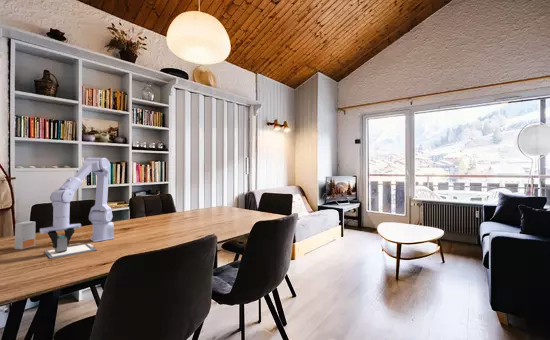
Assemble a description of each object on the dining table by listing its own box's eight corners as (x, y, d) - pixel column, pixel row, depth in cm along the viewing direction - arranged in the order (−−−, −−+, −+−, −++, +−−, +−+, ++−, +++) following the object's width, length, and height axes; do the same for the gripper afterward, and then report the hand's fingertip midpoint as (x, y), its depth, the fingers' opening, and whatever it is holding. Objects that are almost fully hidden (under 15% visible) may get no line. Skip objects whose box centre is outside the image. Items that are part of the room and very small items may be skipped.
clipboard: (88, 244, 135) (88, 242, 135) (96, 250, 125) (96, 248, 125) (44, 251, 122) (44, 249, 122) (50, 259, 113) (50, 256, 113)
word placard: (80, 242, 137) (80, 242, 137) (82, 244, 134) (82, 243, 134) (65, 245, 132) (65, 244, 132) (67, 246, 130) (67, 246, 130)
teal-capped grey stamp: (64, 249, 123) (64, 234, 123) (67, 251, 121) (67, 235, 121) (54, 251, 120) (54, 235, 120) (57, 252, 118) (57, 237, 118)
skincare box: (21, 249, 124) (21, 223, 124) (14, 249, 125) (14, 223, 125) (35, 246, 130) (36, 221, 130) (28, 245, 131) (29, 220, 131)
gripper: (77, 213, 128) (76, 241, 128) (37, 217, 117) (37, 248, 117) (83, 215, 124) (82, 244, 124) (42, 219, 113) (42, 251, 113)
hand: (60, 246), depth 120 cm, fingers closed on teal-capped grey stamp, 4 cm apart
